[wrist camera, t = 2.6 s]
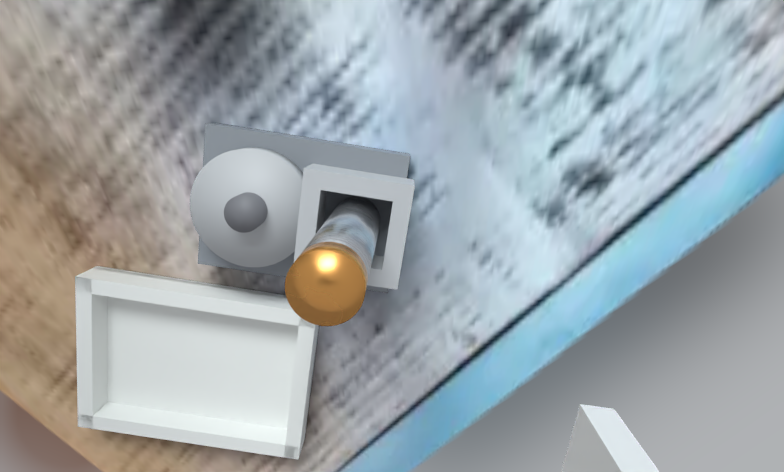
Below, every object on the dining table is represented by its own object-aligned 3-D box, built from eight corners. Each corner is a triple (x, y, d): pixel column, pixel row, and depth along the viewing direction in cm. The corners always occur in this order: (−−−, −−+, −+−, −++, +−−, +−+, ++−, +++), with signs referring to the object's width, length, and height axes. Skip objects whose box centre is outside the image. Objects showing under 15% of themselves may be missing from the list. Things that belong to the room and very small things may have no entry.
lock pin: (329, 239, 33) (281, 319, 20) (335, 193, 32) (289, 244, 19) (377, 247, 33) (359, 331, 20) (384, 201, 32) (370, 257, 19)
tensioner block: (211, 253, 36) (176, 278, 30) (219, 123, 33) (183, 124, 28) (395, 282, 36) (393, 311, 31) (416, 154, 34) (418, 162, 28)
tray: (97, 407, 40) (78, 426, 37) (97, 265, 36) (75, 276, 34) (304, 438, 40) (298, 459, 37) (322, 300, 37) (316, 313, 34)
